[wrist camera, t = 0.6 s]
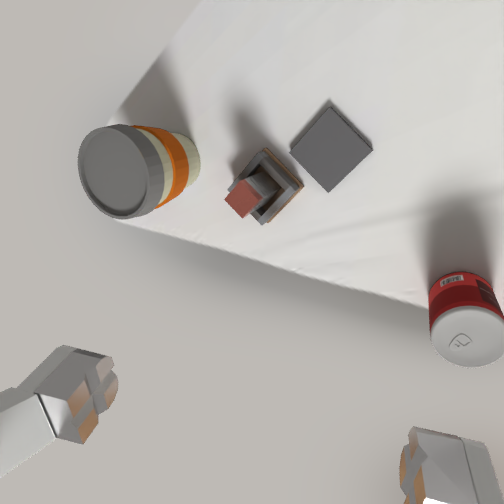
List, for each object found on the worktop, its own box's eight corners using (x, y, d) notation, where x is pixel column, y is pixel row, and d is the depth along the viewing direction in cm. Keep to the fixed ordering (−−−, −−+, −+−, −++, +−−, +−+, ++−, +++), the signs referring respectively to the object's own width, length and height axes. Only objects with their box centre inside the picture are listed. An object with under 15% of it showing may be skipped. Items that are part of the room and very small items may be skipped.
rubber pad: (330, 107, 48) (329, 107, 47) (373, 149, 48) (372, 150, 47) (291, 152, 52) (289, 152, 51) (329, 191, 52) (328, 193, 51)
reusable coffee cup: (206, 206, 61) (150, 232, 48) (145, 188, 65) (78, 208, 52) (213, 129, 56) (153, 135, 43) (147, 115, 60) (73, 116, 47)
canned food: (417, 305, 53) (417, 348, 43) (447, 259, 49) (454, 295, 39) (471, 330, 51) (483, 380, 41) (506, 285, 47) (528, 329, 38)
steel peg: (265, 170, 54) (239, 180, 46) (281, 187, 54) (258, 200, 46) (251, 186, 56) (224, 199, 48) (266, 203, 55) (242, 218, 48)
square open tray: (266, 147, 53) (257, 150, 50) (304, 186, 53) (297, 191, 50) (235, 185, 58) (225, 189, 55) (270, 221, 57) (261, 227, 54)
